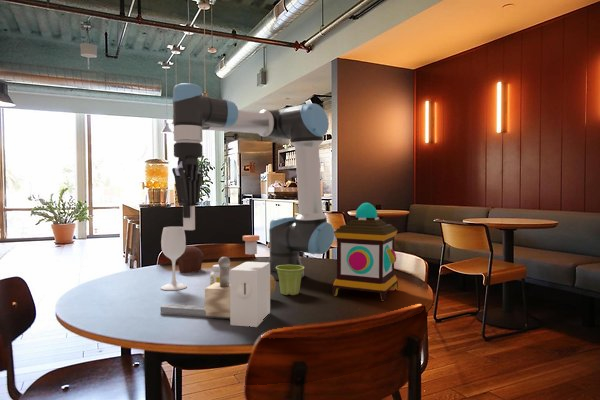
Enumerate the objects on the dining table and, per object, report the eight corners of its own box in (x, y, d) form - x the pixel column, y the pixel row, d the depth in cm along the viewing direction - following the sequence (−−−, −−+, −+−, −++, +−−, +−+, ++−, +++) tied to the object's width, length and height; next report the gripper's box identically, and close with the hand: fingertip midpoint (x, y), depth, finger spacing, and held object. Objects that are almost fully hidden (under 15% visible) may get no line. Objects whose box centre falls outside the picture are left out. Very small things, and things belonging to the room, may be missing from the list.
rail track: (160, 314, 112) (160, 306, 112) (166, 311, 115) (166, 303, 115) (236, 319, 108) (236, 311, 108) (240, 316, 111) (240, 308, 111)
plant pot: (290, 288, 142) (290, 263, 142) (310, 293, 135) (310, 267, 135) (269, 293, 135) (269, 266, 135) (289, 298, 129) (289, 271, 128)
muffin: (199, 273, 166) (199, 248, 166) (172, 273, 167) (172, 248, 166) (206, 267, 178) (206, 244, 178) (181, 267, 179) (181, 244, 178)
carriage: (205, 316, 108) (204, 258, 107) (215, 308, 114) (215, 254, 114) (233, 318, 106) (233, 259, 106) (243, 310, 113) (243, 255, 112)
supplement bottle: (230, 294, 134) (230, 264, 133) (222, 298, 129) (222, 267, 128) (215, 292, 135) (215, 263, 135) (207, 297, 130) (206, 266, 130)
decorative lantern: (347, 283, 149) (348, 201, 149) (402, 289, 141) (403, 202, 140) (326, 296, 131) (327, 202, 131) (388, 304, 123) (389, 204, 122)
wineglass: (179, 291, 137) (178, 228, 137) (155, 290, 139) (155, 228, 139) (191, 285, 146) (190, 226, 145) (168, 284, 148) (168, 225, 147)
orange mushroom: (240, 254, 106) (240, 236, 106) (245, 252, 111) (245, 235, 111) (256, 255, 106) (256, 237, 105) (261, 252, 110) (261, 235, 110)
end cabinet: (229, 326, 103) (229, 270, 102) (246, 311, 115) (246, 261, 115) (255, 328, 101) (255, 271, 101) (270, 312, 114) (270, 262, 113)
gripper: (187, 145, 118) (188, 227, 119) (162, 140, 106) (163, 232, 106) (211, 144, 117) (212, 227, 117) (189, 139, 104) (190, 232, 105)
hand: (189, 229), depth 112 cm, fingers closed
